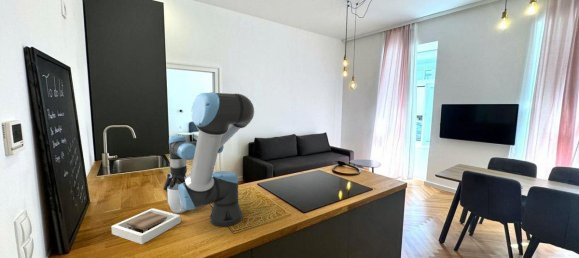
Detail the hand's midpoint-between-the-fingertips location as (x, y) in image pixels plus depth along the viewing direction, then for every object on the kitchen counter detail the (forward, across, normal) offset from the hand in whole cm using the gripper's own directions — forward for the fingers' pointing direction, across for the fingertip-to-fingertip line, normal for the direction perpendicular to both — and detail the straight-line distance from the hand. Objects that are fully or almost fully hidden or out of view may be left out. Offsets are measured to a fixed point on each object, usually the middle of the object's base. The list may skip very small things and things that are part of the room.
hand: (180, 205), depth 122 cm
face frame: (+3, 0, +18) cm, 18 cm away
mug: (+3, 0, 0) cm, 3 cm away
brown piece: (+3, 0, +18) cm, 18 cm away
